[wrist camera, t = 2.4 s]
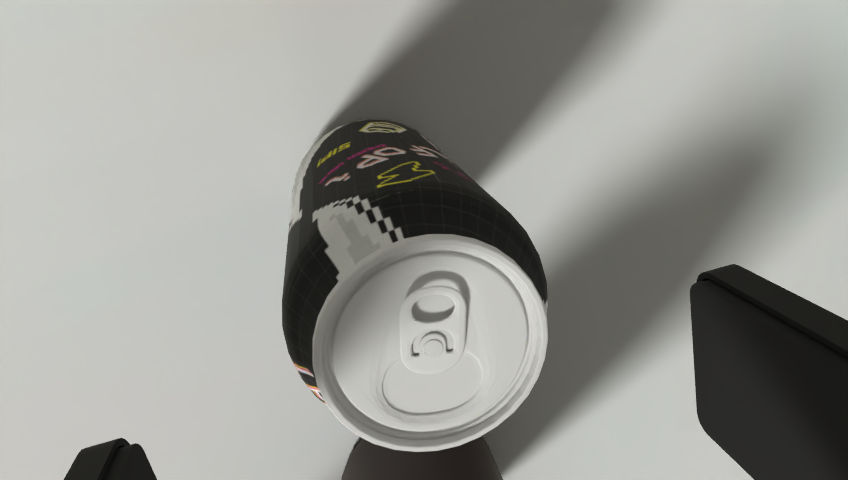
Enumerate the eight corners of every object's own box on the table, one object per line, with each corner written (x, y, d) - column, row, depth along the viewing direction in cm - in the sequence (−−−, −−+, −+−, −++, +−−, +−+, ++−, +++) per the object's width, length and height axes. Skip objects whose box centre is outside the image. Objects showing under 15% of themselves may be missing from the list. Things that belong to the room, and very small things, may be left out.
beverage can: (445, 111, 22) (589, 193, 11) (448, 257, 24) (573, 458, 13) (284, 120, 21) (258, 220, 10) (301, 272, 23) (295, 501, 12)
